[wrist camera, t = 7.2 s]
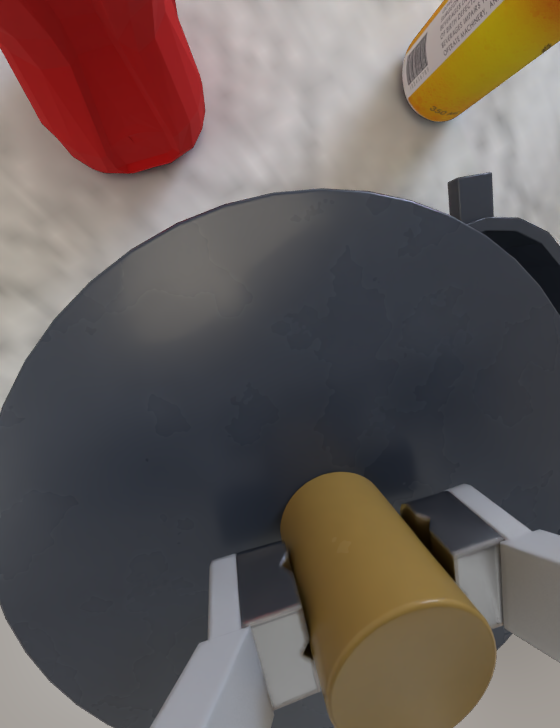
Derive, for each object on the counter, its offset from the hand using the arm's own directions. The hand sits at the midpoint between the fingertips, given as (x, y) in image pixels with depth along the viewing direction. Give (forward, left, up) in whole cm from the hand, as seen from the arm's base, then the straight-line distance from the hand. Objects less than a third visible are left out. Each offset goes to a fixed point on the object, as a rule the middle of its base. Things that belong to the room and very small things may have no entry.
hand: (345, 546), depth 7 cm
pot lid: (0, 0, -2) cm, 2 cm away
